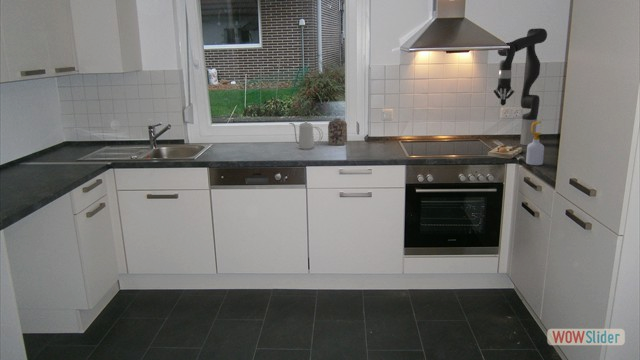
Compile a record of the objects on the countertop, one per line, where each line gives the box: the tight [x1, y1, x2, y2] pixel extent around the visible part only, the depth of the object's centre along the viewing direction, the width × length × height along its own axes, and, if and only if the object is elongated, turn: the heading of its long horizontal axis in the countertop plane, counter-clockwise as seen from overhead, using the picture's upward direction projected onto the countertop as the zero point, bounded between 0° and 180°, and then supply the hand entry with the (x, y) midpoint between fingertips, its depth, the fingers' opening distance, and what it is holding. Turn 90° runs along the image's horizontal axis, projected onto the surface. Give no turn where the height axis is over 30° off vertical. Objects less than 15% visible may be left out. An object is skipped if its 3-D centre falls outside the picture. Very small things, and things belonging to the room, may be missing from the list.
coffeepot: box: [288, 120, 324, 150], centre depth 358 cm, size 11×25×19 cm, turn 68°
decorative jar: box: [327, 117, 348, 146], centre depth 370 cm, size 12×12×18 cm
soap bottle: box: [525, 120, 545, 166], centre depth 297 cm, size 9×9×25 cm
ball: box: [499, 147, 507, 153], centre depth 322 cm, size 5×5×5 cm
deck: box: [487, 143, 523, 160], centre depth 326 cm, size 24×14×4 cm, turn 144°
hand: (502, 105), depth 330 cm, fingers closed
